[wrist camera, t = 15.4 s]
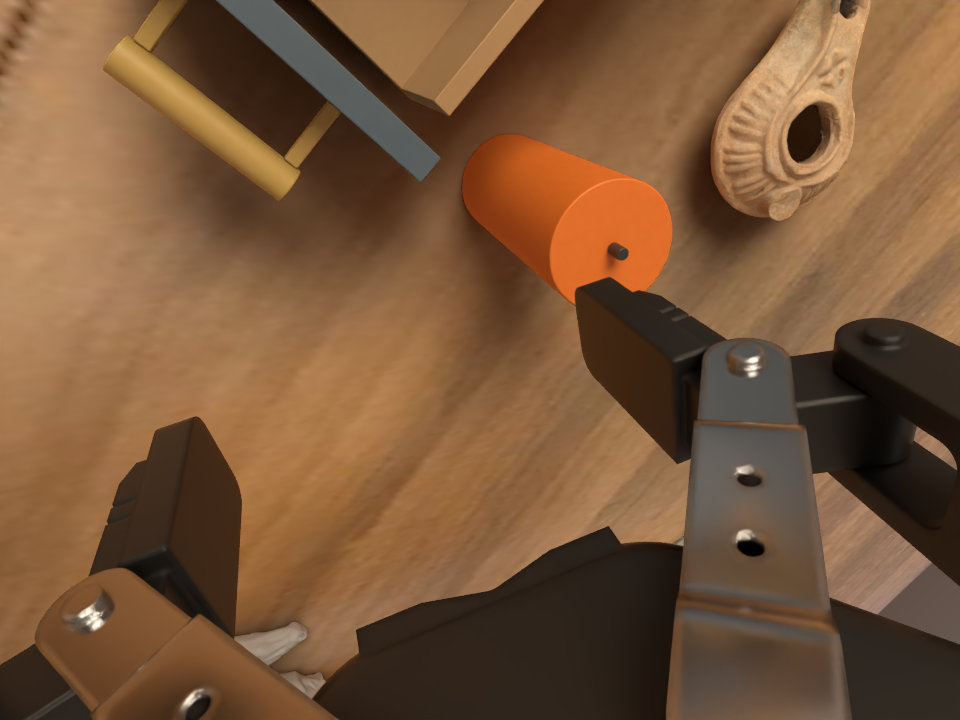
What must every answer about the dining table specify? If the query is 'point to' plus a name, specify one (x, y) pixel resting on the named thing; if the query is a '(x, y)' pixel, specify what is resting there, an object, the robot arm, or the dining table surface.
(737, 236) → the dining table surface
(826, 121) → the pottery oil lamp
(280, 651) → the seahorse
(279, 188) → the drawer
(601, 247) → the candle
